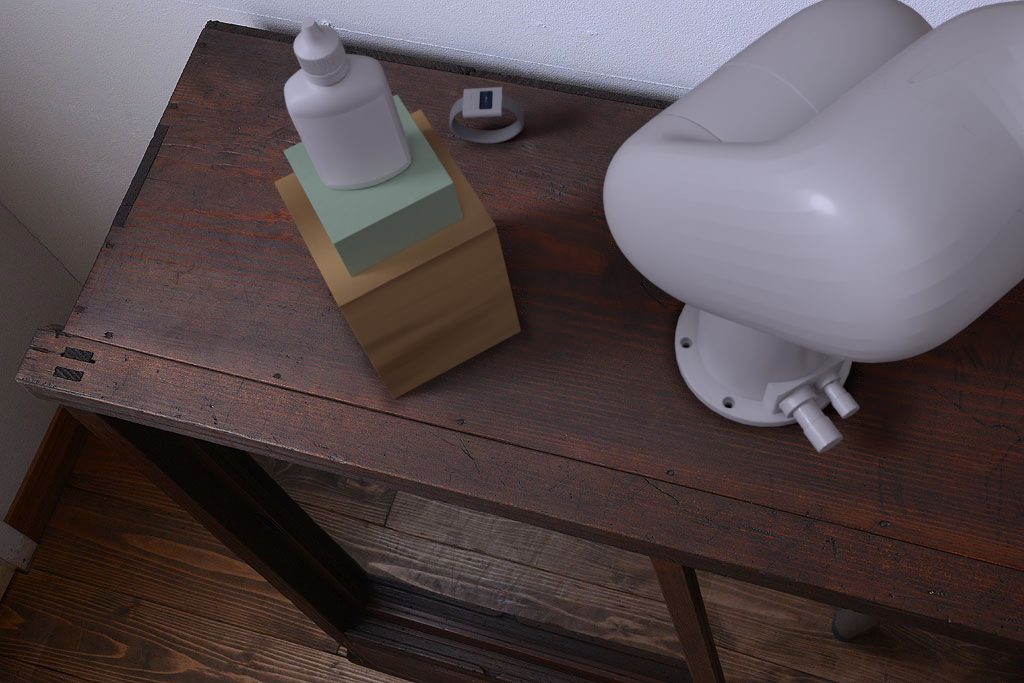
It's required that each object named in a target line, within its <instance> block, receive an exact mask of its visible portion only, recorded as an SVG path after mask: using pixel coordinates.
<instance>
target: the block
mask: <svg viewBox="0 0 1024 683" xmlns="http://www.w3.org/2000/svg"><path fill="white" fill-rule="evenodd" d="M392 96H393V99H394V102H395V105H396V108H397V111H398V114H399V117H400V120H401V123H402V125H403V128H404V131H405V134H406V137H407V141H408V144H409V148H410V152H411V157H412V158H411V164H410V165H409V166H408V168H407V169H405V170H404V171H403V172H401V173H400V174H398V175H397V176H395V177H393V178H391V179H389V180H387V181H385V182H382V183H380V184H377V185H374V186H371V187H367V188H361V189H353V190H337V189H331V188H329V187H326V186H325V185H324V183H323V182H322V180H321V178H320V176H319V174H318V172H317V170H316V168H315V166H314V164H313V162H312V160H311V158H310V156H309V154H308V152H307V150H306V148H305V146H304V144H303V142H302V141H300V142H298V143H296V144H294V145H292V146H290V147H288V148H285V149H283V153H284V155H285V157H286V159H287V161H288V163H289V164H290V166H291V169H292V171H293V173H294V172H295V174H296V176H297V178H298V180H299V182H300V183H301V185H302V187H303V189H304V191H305V193H306V195H307V196H308V198H309V200H310V202H311V204H312V206H313V208H314V209H315V211H316V213H317V215H318V217H319V219H320V221H321V223H322V224H323V226H324V228H325V230H326V232H327V234H328V236H329V237H330V239H331V241H332V243H333V245H334V247H335V249H336V250H337V252H338V254H339V256H340V258H341V260H342V262H343V263H344V265H345V267H346V269H347V271H348V273H349V275H350V276H351V277H352V276H354V275H356V274H358V273H360V272H362V271H364V270H366V269H368V268H370V267H372V266H374V265H376V264H377V263H379V262H381V261H383V260H385V259H387V258H389V257H391V256H393V255H395V254H397V253H399V252H401V251H403V250H405V249H407V248H408V247H410V246H412V245H414V244H416V243H418V242H420V241H422V240H424V239H426V238H428V237H430V236H432V235H434V234H436V233H437V232H439V231H441V230H443V229H445V228H447V227H449V226H451V225H453V224H455V223H457V222H459V221H461V220H463V219H464V217H463V214H462V210H461V207H460V203H459V200H458V196H457V193H456V189H455V186H454V182H453V181H452V179H451V178H450V176H449V174H448V173H447V171H446V170H445V168H444V167H443V165H442V163H441V162H440V160H439V159H438V157H437V156H436V154H435V152H434V151H433V149H432V148H431V146H430V145H429V143H428V141H427V140H426V138H425V137H424V135H423V134H422V132H421V130H420V129H419V127H418V126H417V124H416V123H415V121H414V119H413V118H412V116H411V115H410V114H411V113H410V112H409V110H408V109H407V107H406V105H405V104H404V102H403V100H402V98H400V96H399V95H398V94H395V95H392Z"/></svg>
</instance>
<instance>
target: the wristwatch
mask: <svg viewBox="0 0 1024 683" xmlns="http://www.w3.org/2000/svg"><path fill="white" fill-rule="evenodd" d="M504 110H506V111H507V112H509V113H511V115H513V116H514V117H515V118H516V121H515V122H514V123H512V124H511V125H508V126H506V127H503V128H500V129H491V130H490V129H489V130H486V129H477V128H472V127H469V126H465V125H463V124H462V123H460V122H459V120H457V119H456V118H457V117H458V116H459V115H460V113H462V119H481V118H497V117H503V111H504ZM448 122H449V123H448V126H449V129H450V131H451V133H452V134H453V135H454V136H455V137H458V138H459V139H462V140H464V141H469V142H472V143H476V144H499V143H503V142H507V141H509V140H511V139H513V138H515V137H516V136H518V135H519V134H520V133H521V132H522V131H523V128H524V126H525V112H524V109H523V107H522V106H521V105H520V104H519V103H518V102H517V101H516V100H515V99H513V98H512V97H510V96H508V95H505V94H504V89H503V86H494V87H493V86H492V87H478V88H476V87H475V88H463V95H462V97H460V98H459V99H457V100H456V101H455V102H454V103H453V105H452V106H451V109H450V112H449V121H448Z"/></svg>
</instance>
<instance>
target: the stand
mask: <svg viewBox="0 0 1024 683" xmlns="http://www.w3.org/2000/svg"><path fill="white" fill-rule="evenodd" d="M410 115H411V116H412V118H413V119H414V121H415V123H416V124H417V126H418V127H419V129H420V130H421V132H422V134H423V135H424V137H425V138H426V140H427V141H428V143H429V145H430V146H431V148H432V149H433V151H434V152H435V154H436V156H437V157H438V159H439V160H440V162H441V163H442V165H443V167H444V168H445V170H446V171H447V173H448V174H449V176H450V178H451V179H452V181H453V182H454V186H455V189H456V193H457V196H458V200H459V203H460V207H461V210H462V214H463V217H464V219H463V220H461V221H459V222H457V223H455V224H453V225H451V226H449V227H447V228H445V229H443V230H441V231H439V232H437V233H436V234H434V235H432V236H430V237H428V238H426V239H424V240H422V241H420V242H418V243H416V244H414V245H412V246H410V247H408V248H407V249H405V250H403V251H401V252H399V253H397V254H395V255H393V256H391V257H389V258H387V259H385V260H383V261H381V262H379V263H377V264H376V265H374V266H372V267H370V268H368V269H366V270H364V271H362V272H360V273H358V274H356V275H354V276H352V277H351V276H350V275H349V273H348V271H347V269H346V267H345V265H344V263H343V262H342V260H341V258H340V256H339V254H338V252H337V250H336V249H335V247H334V245H333V243H332V241H331V239H330V237H329V236H328V234H327V232H326V230H325V228H324V226H323V224H322V223H321V221H320V219H319V217H318V215H317V213H316V211H315V209H314V208H313V206H312V204H311V202H310V200H309V198H308V196H307V195H306V193H305V191H304V189H303V187H302V185H301V183H300V182H299V180H298V178H297V176H296V174H295V172H294V171H293V172H292V173H290V174H288V175H286V176H284V177H282V178H280V179H278V180H276V181H274V185H275V187H276V189H277V191H278V193H279V195H280V196H281V199H282V201H283V202H284V204H285V206H286V208H287V210H288V212H289V213H290V216H291V217H292V220H293V222H294V224H295V226H296V227H297V229H298V232H299V233H300V235H301V237H302V239H303V240H304V243H305V245H306V247H307V249H308V250H309V252H310V255H311V256H312V258H313V260H314V263H315V264H316V265H317V268H318V269H319V271H320V274H321V275H322V277H323V279H324V281H325V283H326V285H327V287H328V288H329V291H330V293H331V294H332V296H333V298H334V300H335V302H336V305H337V306H338V307H339V309H340V312H341V313H342V315H343V316H344V318H345V320H346V321H347V323H348V325H349V327H350V328H351V330H352V332H353V333H354V335H355V337H356V338H357V340H358V342H359V343H360V345H361V346H362V348H363V349H362V350H364V352H365V354H366V355H367V357H368V359H369V361H370V362H371V364H372V366H373V368H374V370H376V373H377V374H378V376H379V378H380V379H381V381H382V383H383V384H384V386H385V388H386V389H387V392H388V393H389V395H390V396H391V398H392V400H395V399H397V398H399V397H401V396H403V395H405V394H407V393H408V392H410V391H412V390H414V389H416V388H417V387H419V386H422V385H423V384H425V383H427V382H429V381H431V380H433V379H434V378H436V377H439V376H440V375H442V374H444V373H446V372H448V371H449V370H451V369H453V368H455V367H457V366H459V365H461V364H463V363H464V362H466V361H468V360H470V359H472V358H474V357H475V356H477V355H479V354H481V353H483V352H485V351H487V350H488V349H490V348H492V347H494V346H497V345H498V344H500V343H501V342H504V341H505V340H507V339H509V338H511V337H513V336H515V335H517V334H519V333H520V332H521V331H522V329H521V325H520V320H519V316H518V312H517V308H516V304H515V300H514V295H513V291H512V288H511V287H512V286H511V283H510V279H509V274H508V270H507V267H506V262H505V258H504V253H503V250H502V245H501V240H500V236H499V233H498V228H497V225H496V223H495V222H494V220H493V219H492V217H491V216H490V214H489V212H488V211H487V209H486V208H485V206H484V204H483V203H482V201H481V200H480V198H479V197H478V195H477V193H476V192H475V191H474V189H473V188H472V186H471V184H470V183H469V181H468V180H467V178H466V177H465V175H464V173H463V171H462V170H461V169H460V167H459V166H458V164H457V163H456V161H455V160H454V158H453V157H452V155H451V153H450V152H449V150H448V149H447V147H446V146H445V144H444V143H443V140H442V139H441V138H440V136H439V135H438V133H437V132H436V130H435V129H434V127H433V126H432V124H431V122H430V121H429V119H428V117H427V116H426V115H425V113H424V111H423V110H422V108H421V109H418V110H416V111H414V112H411V113H410Z"/></svg>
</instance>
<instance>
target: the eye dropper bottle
mask: <svg viewBox="0 0 1024 683" xmlns="http://www.w3.org/2000/svg"><path fill="white" fill-rule="evenodd" d="M300 26H301V31H300V32H299V33H298V35H296V37H295V39H294V41H293V45H292V46H293V47H292V48H293V52H294V54H295V57H296V58H297V62H298V63H299V65H300V69H299V70H297V71H296V72H295V73H294V74H293V75H292V76H290V77H289V78H288V80H287V81H286V82H285V84H284V86H283V96H284V100H285V106H286V110H287V112H288V114H289V116H290V119H291V121H292V123H293V125H294V127H295V129H296V131H297V134H298V136H299V138H300V140H301V142H303V144H304V146H305V148H306V150H307V152H308V154H309V156H310V158H311V160H312V162H313V164H314V166H315V168H316V170H317V172H318V174H319V176H320V178H321V180H322V182H323V183H324V185H325V186H326V187H329V188H331V189H337V190H353V189H361V188H367V187H371V186H374V185H377V184H380V183H382V182H385V181H387V180H389V179H391V178H393V177H395V176H397V175H398V174H400V173H401V172H403V171H404V170H405V169H407V168H408V166H409V165H410V164H411V158H412V157H411V152H410V148H409V144H408V141H407V137H406V134H405V131H404V128H403V125H402V123H401V120H400V117H399V114H398V111H397V108H396V105H395V102H394V99H393V96H394V95H393V94H392V91H391V87H390V85H389V82H388V79H387V76H386V74H385V70H384V68H383V66H382V65H381V63H380V62H379V60H378V59H376V58H374V57H371V56H367V55H361V54H355V53H354V54H353V53H346V51H345V48H344V44H343V43H342V40H341V37H340V34H339V33H338V31H337V30H336V29H335V28H334V27H331V26H329V25H326V24H318V22H317V21H316V20H315V19H314V17H312V16H306V17H304V18H303V19H302V20H301V21H300Z"/></svg>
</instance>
